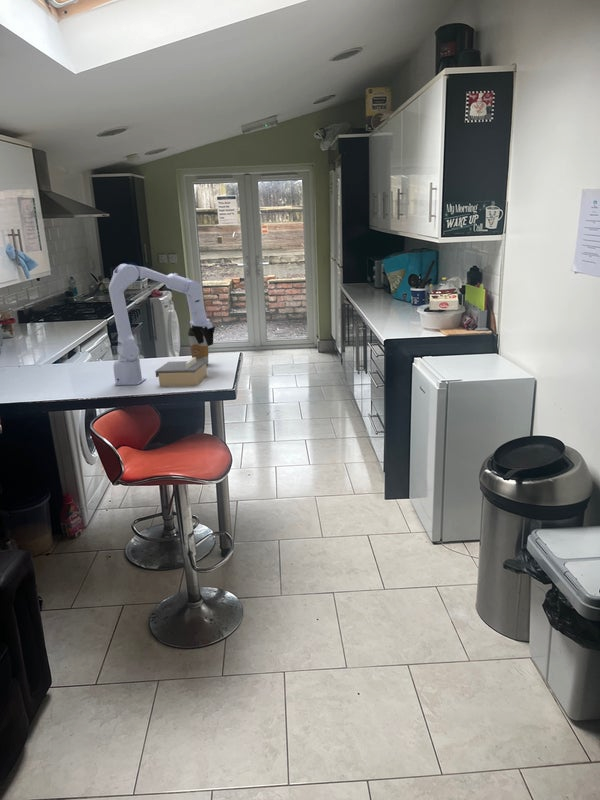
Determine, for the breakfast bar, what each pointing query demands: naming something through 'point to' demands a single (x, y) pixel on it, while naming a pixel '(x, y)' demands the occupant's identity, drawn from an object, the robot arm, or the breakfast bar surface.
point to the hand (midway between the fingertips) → (205, 344)
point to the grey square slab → (181, 366)
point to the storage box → (182, 377)
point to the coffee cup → (198, 348)
